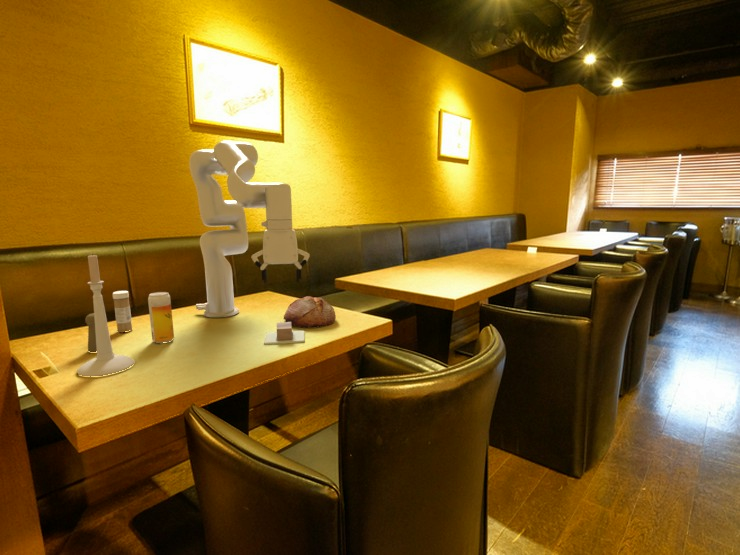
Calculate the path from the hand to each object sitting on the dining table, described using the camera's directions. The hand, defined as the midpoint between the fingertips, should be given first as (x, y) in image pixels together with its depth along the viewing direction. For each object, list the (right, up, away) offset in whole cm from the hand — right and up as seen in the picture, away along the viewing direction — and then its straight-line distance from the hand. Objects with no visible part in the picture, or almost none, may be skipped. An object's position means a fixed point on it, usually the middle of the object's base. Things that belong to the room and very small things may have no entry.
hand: (282, 281), depth 130 cm
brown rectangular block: (0, -17, +3) cm, 17 cm away
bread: (+6, -15, +21) cm, 27 cm away
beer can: (-37, -19, +2) cm, 41 cm away
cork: (-52, -20, -6) cm, 56 cm away
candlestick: (-42, -22, -19) cm, 51 cm away
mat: (0, -18, +3) cm, 18 cm away
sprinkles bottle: (-55, -17, +12) cm, 59 cm away
